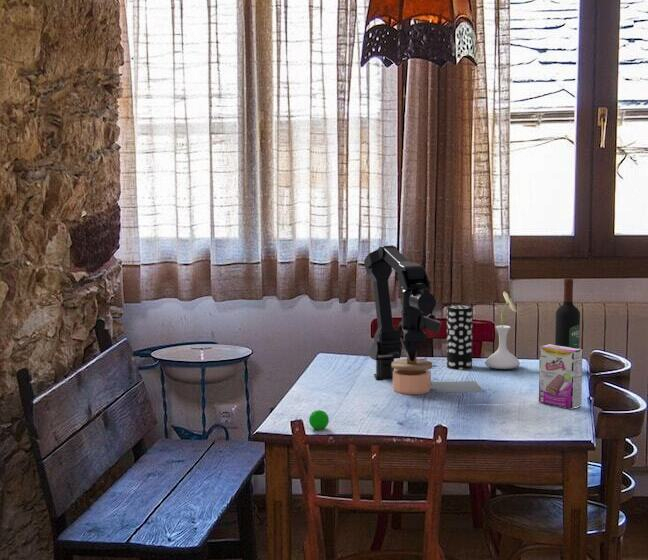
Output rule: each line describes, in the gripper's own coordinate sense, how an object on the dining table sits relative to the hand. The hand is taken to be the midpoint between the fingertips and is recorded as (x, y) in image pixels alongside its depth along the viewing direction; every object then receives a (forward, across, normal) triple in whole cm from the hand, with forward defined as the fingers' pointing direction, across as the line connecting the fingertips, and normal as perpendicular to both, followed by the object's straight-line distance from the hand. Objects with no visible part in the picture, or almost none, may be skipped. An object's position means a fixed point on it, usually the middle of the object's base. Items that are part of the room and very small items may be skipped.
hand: (411, 359), depth 302 cm
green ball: (+10, -40, +29) cm, 50 cm away
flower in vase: (+10, +31, -34) cm, 47 cm away
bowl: (+10, 0, 0) cm, 10 cm away
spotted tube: (+10, +33, -20) cm, 40 cm away
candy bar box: (+10, -20, -39) cm, 45 cm away
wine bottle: (+10, +23, -53) cm, 59 cm away
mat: (+9, +3, -14) cm, 17 cm away
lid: (+2, 0, 0) cm, 2 cm away
